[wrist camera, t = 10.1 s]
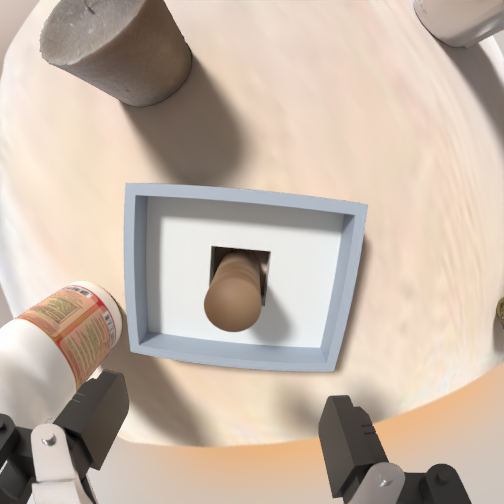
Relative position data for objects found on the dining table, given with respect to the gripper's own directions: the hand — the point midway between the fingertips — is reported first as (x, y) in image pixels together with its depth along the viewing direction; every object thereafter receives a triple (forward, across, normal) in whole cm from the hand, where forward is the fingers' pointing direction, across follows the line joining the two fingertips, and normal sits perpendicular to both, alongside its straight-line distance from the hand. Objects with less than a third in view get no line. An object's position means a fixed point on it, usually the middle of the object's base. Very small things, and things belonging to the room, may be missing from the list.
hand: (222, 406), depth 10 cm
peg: (+20, 0, 0) cm, 20 cm away
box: (+20, 0, 0) cm, 20 cm away
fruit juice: (+20, +18, +8) cm, 28 cm away
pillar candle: (+20, +12, -21) cm, 32 cm away
